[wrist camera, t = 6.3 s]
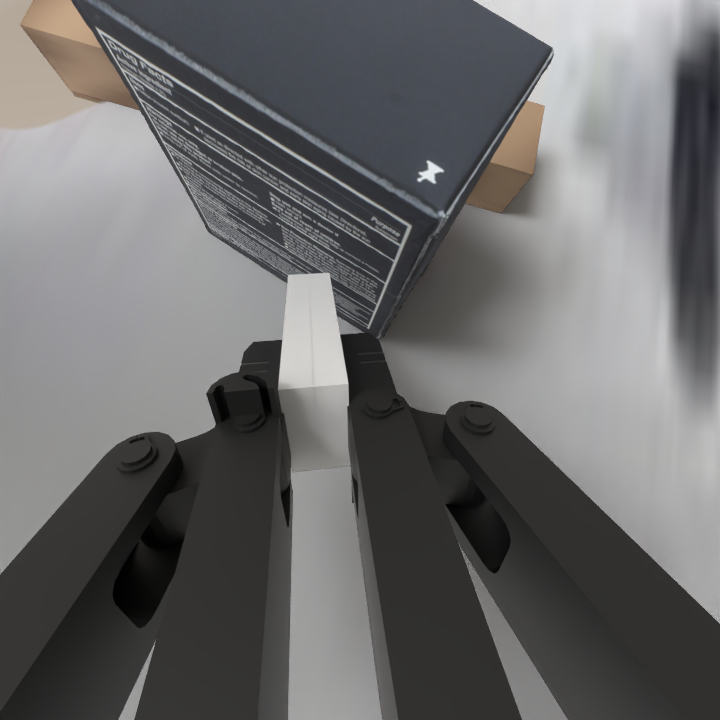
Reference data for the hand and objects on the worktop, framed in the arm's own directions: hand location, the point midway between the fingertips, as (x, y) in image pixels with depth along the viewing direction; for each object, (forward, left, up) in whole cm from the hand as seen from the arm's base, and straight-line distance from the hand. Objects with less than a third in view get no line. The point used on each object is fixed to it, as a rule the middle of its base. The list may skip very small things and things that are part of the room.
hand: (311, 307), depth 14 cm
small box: (+1, +5, -4) cm, 7 cm away
